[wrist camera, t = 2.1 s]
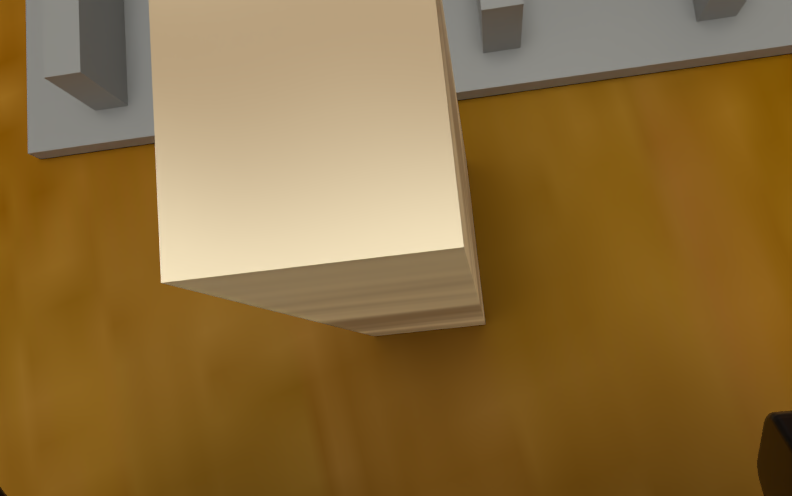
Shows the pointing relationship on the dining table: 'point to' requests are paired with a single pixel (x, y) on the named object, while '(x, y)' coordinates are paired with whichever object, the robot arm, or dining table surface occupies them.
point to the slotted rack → (467, 36)
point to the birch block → (314, 161)
